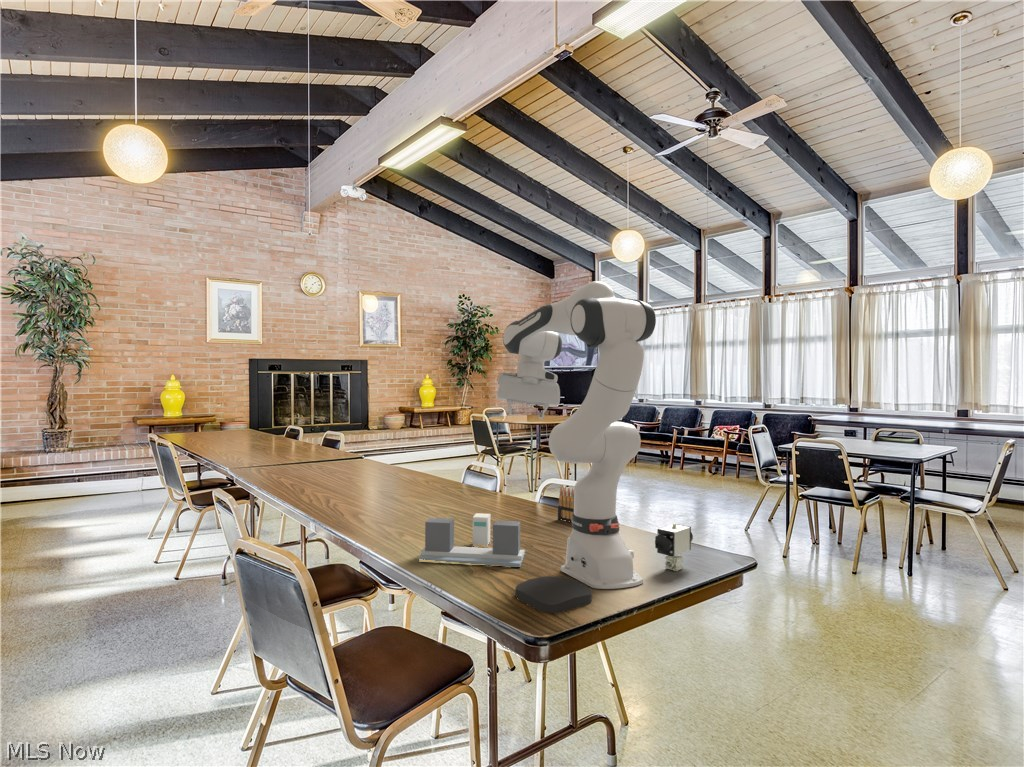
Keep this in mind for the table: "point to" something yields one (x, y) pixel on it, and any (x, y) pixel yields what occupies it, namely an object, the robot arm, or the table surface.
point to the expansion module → (481, 529)
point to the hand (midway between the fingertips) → (526, 416)
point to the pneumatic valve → (673, 544)
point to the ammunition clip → (566, 504)
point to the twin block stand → (501, 554)
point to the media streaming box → (553, 594)
